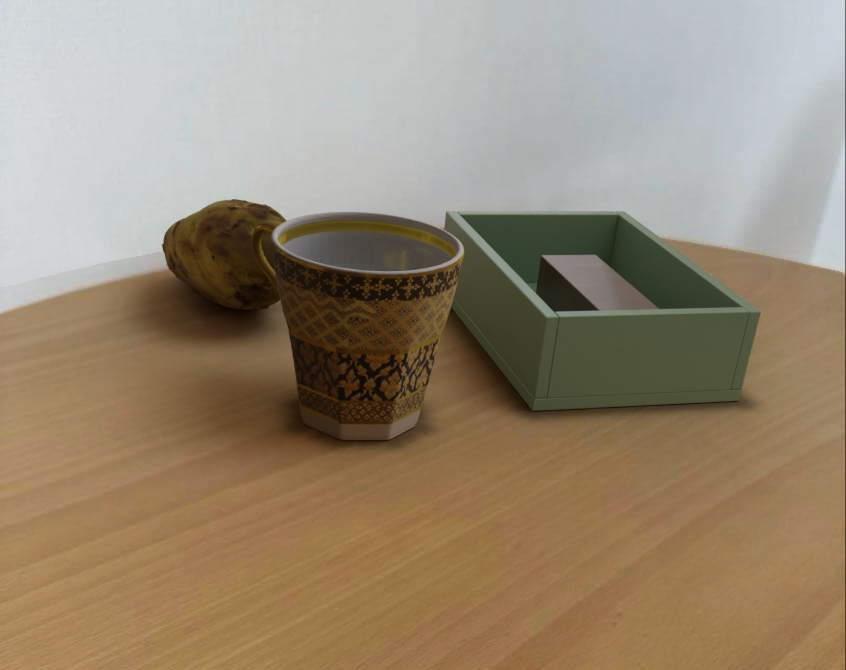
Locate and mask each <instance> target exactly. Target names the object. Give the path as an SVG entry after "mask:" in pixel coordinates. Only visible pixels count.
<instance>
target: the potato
mask: <svg viewBox="0 0 846 670" xmlns="http://www.w3.org/2000/svg"><path fill="white" fill-rule="evenodd" d="M264 221H279V222H283V223H284V222H286V221H287V219H286V218H285V217H284V216H283V215H282V214H281V213H280V212H279V211H277V210H276V209H274V208H272V207H271V206H270V205H267V204H265V203H264V204H262V203H257V202H251V201H247V200H246V199H245V200H244V199H237V198H236V199H235V198H232V199H224V200H223V199H222V200H218V201H214V202H213V203H211V204H207V206H205V207H203V208H201V209H200V210H198V211H195V212H194V213H191V214H190V215H187V216H186V217H184V218H181V219H178V220H177V221H175V222H174V223H172V225H170V227H168V229H166V231H165V233H164V236H163V239H162V240H163V241H162V243H161V249H162V252H163V253H164V259H165V262H166V266H167V267H168V269H169V271H171V273H172V274H174V275H175V277H176V278H177V279H178V280H179V281H181V282H183V283H184V284H186V285H188V286H190V287H191V288H192V289H193V290H194V291H196V292H197V294H198V295H202V296H203V297H205V298H207V299H208V300H209V301H210V302H212V303H214V304H217V305H218V304H219V305H221V306H223V307H226V308H229V309H234V310H244V311H245V310H246V311H247V310H254V309H259V310H266V309H269V307H270V306H273V305H275V304H276V303H278V302H279V301H280V297H279V293H278V292H277V290H276V289H275V287H274V286H273V284H272V283H271V282H270V281H269V279H268V278H267V277H266V275H265V274H264V273H263V271H262V270H261V269H260V267H259V265H258V264H257V262H256V260H255V257H254V254H253V251H252V243H251V241H252V235H253V232H254V230H255V228H256V227H257V226H258V224H260V223H262V222H264ZM261 247H262V251H263V254H264V256H265V258H266V260H267V261H268V263H269V264H270V266H271V267H272V269H273V270H274V264H273V256H272V248H271V233H269V232H267V231H265V232H264V233H263V235H262V239H261ZM274 271H275V270H274Z"/></svg>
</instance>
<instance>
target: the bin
mask: <svg viewBox="0 0 846 670" xmlns="http://www.w3.org/2000/svg"><path fill="white" fill-rule="evenodd" d="M443 230H445V231H447V232H449V233H450V234H452V235H453V236H455V237H456V238H457V239H458V240H459V241H460V242H461V244H462V245H463V248H464V256H463V261H462V266H461V270H460V275H459V280H458V283H457V287H456V291H455V294H454V298H453V301H452V305H451V309H452V311H454V313H455V315H456V316H457V317H458V318H459V319H460V321H461V322H462V323H463V325H464V326H465V327H466V328H467V330H468V331H469V332H470V333H471V334H472V336H473V337H474V338H475V339H476V341H477V342H478V343H479V345H480V346H481V347H482V348H483V350H484V352H486V354H487V355H488V356H489V358H490V359H491V360H492V361H493V363H494V364H495V365H496V366H497V367H498V369H499V370H500V372H501V373H502V374H503V376H505V378H506V379H507V380H508V382H509V383H510V384H511V386H512V387H513V388H514V389H515V391H516V392H517V393H518V395H519V396H520V397H521V398H522V399H523V401H524V402H525V403H526V404H527V406H528V407H529V408H530V410H531V411H532V412H534V411H535V412H537V411H538V412H539V411H540V412H541V411H559V410H578V409H579V410H580V409H598V408H599V409H601V408H618V407H620V408H621V407H622V408H623V407H640V406H641V407H643V406H658V405H659V406H663V405H680V404H683V405H684V404H700V403H701V404H702V403H722V402H724V403H725V402H739V401H740V398H741V394H742V389H743V385H744V381H745V378H746V373H747V369H748V366H749V361H750V357H751V354H752V350H753V345H754V341H755V337H756V333H757V329H758V326H759V321H760V317H761V313H762V312H761V310H759V309H758V308H757V307H755V306H754V305H752V304H751V303H750V302H749V301H747V300H746V299H744V298H743V297H742V296H740V295H739V294H737V293H736V292H735V291H733V290H732V289H730V288H729V287H728V286H726V285H725V284H724V283H722V281H720V280H719V279H718V278H716V277H714V276H713V275H712V274H710V273H709V272H708V271H706V270H705V269H703V268H702V267H701V266H700V265H698V264H697V263H696V262H694V261H693V260H691V259H690V258H688V257H687V255H685V254H683V253H682V252H681V251H679V250H677V248H675V247H674V246H672V245H671V244H669V243H668V242H667V241H666V240H664V239H663V238H662V237H660V236H659V235H657V234H656V233H655V232H653V231H652V230H651V229H649V228H648V227H647V226H645V225H644V224H642V223H641V222H639V221H638V220H637V219H636V218H634V217H633V216H631V215H630V214H629V213H627V212H626V211H624V210H623V211H622V210H620V211H619V210H618V211H617V210H616V211H614V210H612V211H609V210H608V211H607V210H605V211H603V210H599V211H597V210H596V211H595V210H593V211H592V210H591V211H588V210H587V211H586V210H583V211H581V210H577V211H576V210H575V211H574V210H573V211H571V210H570V211H569V210H565V211H564V210H563V211H562V210H559V211H557V210H555V211H554V210H553V211H552V210H545V211H544V210H522V211H521V210H457V211H456V210H448V211H447V210H446V211H445V217H444V228H443ZM542 255H597V256H598V257H599V258H600V259H601V260H602V261H604V262H605V263H606V264H607V265H608V266H610V267H611V268H612V269H613V270H614V271H615V272H617V273H618V274H619V275H620V276H621V277H622V278H624V279H625V280H626V281H627V282H628V283H630V284H631V285H632V286H633V287H634V288H635V289H637V290H638V291H639V292H640V293H641V294H642V295H644V296H645V297H646V298H647V299H648V300H649V301H651V302H652V303H653V304H654V305H655V306H657V307H658V308H659V309H646V310H605V311H564V312H555V313H554V312H553V310H552V309H551V308H550V307H549V306H548V305H547V304H546V303H545V302H544V301H543V300H542V299H541V298H540V297H539V296H538V295H537V294H536V288H537V281H538V274H539V267H540V260H541V256H542Z"/></svg>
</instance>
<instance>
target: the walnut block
mask: <svg viewBox="0 0 846 670" xmlns="http://www.w3.org/2000/svg"><path fill="white" fill-rule="evenodd" d="M536 294H537V295H538V296H539V297H540V298H541V299H542V300H543V301H544V302H545V303H546V304H547V305H548V306H549V307H550V308H551V309H552V310H553V312H554V313H555V312H564V311H605V310H646V309H659V308H658V307H657V306H655V305H654V304H653V303H652V302H651V301H649V300H648V299H647V298H646V297H645V296H644V295H642V294H641V293H640V292H639V291H638V290H637V289H635V288H634V287H633V286H632V285H631V284H630V283H628V282H627V281H626V280H625V279H624V278H622V277H621V276H620V275H619V274H618V273H617V272H615V271H614V270H613V269H612V268H611V267H610V266H608V265H607V264H606V263H605V262H604V261H602V260H601V259H600V258H599V257H598V256H597V255H542V256H541V260H540V267H539V274H538V281H537V288H536Z"/></svg>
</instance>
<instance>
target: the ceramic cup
mask: <svg viewBox="0 0 846 670" xmlns="http://www.w3.org/2000/svg"><path fill="white" fill-rule="evenodd" d="M265 231H267V232H269V233H271V248H272V256H273V264H274V270H275V271H274V270H273V269H272V267H271V266H270V264H269V263H268V261H267V260H266V258H265V256H264V254H263V251H262V247H261V239H262V235H263V233H264V232H265ZM251 243H252V251H253V254H254V257H255V260H256V262H257V264H258V265H259V267H260V269H261V270H262V271H263V273H264V274H265V275H266V277H267V278H268V279H269V281H270V282H271V283H272V284H273V286H274V287H275V289H276V290H277V292H278V293H279V297H280V300H279V301H280V306H281V309H282V313H283V316H284V319H285V323H286V326H287V330H288V336H289V342H290V348H291V353H292V360H293V361H292V362H293V367H294V372H295V383H296V392H297V398H298V403H299V410H300V414H301V419H302V421H303V422H304V425H306V426H309V427H310V428H312V429H316V431H320V432H322V433H324V434H327V435H329V436H332V437H334V438H336V439H339V440H341V441H342V440H343V441H389V440H392V439H393V438H395V437H398V436H400V435H401V434H403V433H405V432H407V431H408V430H411V429H412V428H414V427H415V426H416V424H417V422H418V420H419V417H420V414H421V410H422V407H423V405H424V400H425V396H426V393H427V389H428V388H427V387H428V385H429V381H430V378H431V374H432V370H433V367H434V364H435V360H436V357H437V353H438V349H439V346H440V345H439V344H440V342H441V337H442V334H443V331H444V329H445V327H446V324H447V320H448V318H449V315H450V313H451V309H452V308H451V305H452V301H453V298H454V294H455V291H456V287H457V283H458V280H459V275H460V270H461V266H462V261H463V256H464V248H463V245H462V244H461V242H460V241H459V240H458V239H457V238H456V237H455V236H453V235H452V234H450V233H449V232H447V231H445V230H444V228H441V227H438V226H436V225H433V224H431V223H427V222H424V221H421V220H418V219H414V218H409V217H404V216H399V215H393V214H386V213H379V212H378V213H377V212H367V211H366V212H365V211H364V212H363V211H329V212H318V213H312V214H305V215H301V216H297V217H294V218H291V219H288V220H286V222H284V223H283V222H279V221H264V222H262V223H260V224H258V226H257V227H256V228H255V230H254V232H253V235H252V241H251Z"/></svg>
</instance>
